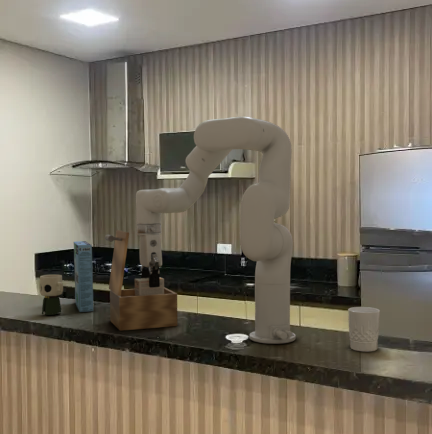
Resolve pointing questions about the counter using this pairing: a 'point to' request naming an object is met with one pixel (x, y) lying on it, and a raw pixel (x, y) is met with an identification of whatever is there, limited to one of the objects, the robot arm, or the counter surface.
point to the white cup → (363, 328)
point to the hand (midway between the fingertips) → (150, 285)
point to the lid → (118, 260)
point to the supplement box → (147, 287)
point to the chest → (143, 310)
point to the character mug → (51, 293)
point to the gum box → (83, 276)
